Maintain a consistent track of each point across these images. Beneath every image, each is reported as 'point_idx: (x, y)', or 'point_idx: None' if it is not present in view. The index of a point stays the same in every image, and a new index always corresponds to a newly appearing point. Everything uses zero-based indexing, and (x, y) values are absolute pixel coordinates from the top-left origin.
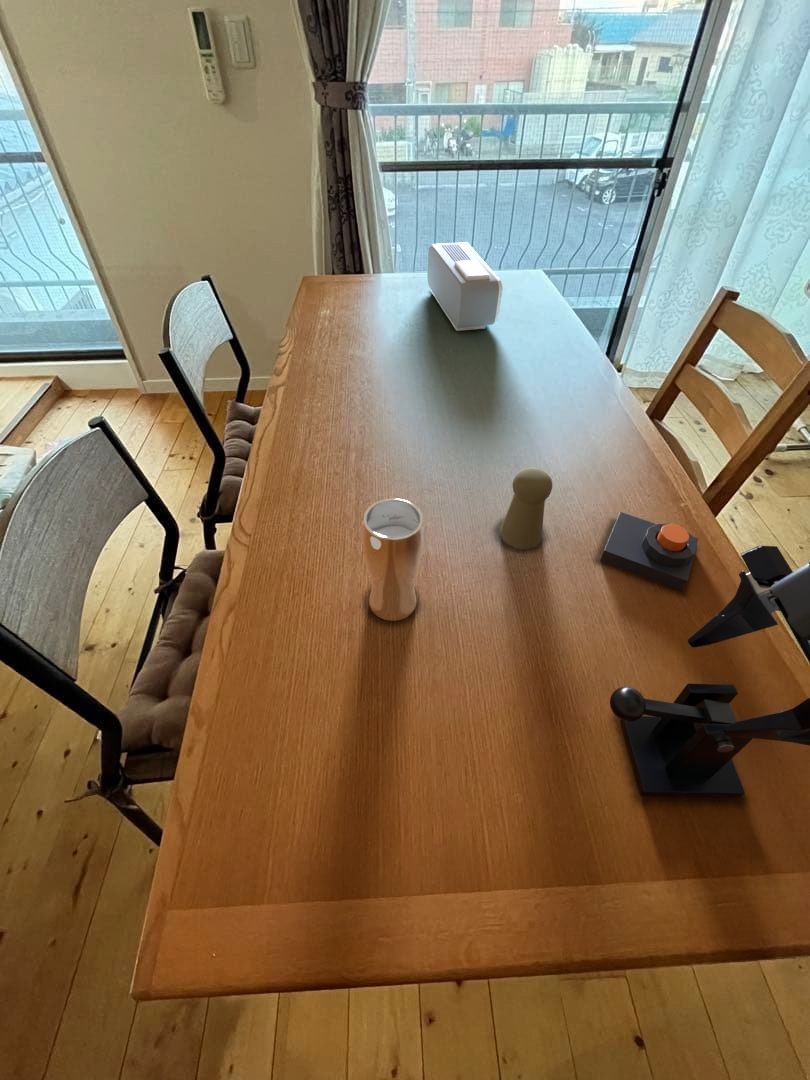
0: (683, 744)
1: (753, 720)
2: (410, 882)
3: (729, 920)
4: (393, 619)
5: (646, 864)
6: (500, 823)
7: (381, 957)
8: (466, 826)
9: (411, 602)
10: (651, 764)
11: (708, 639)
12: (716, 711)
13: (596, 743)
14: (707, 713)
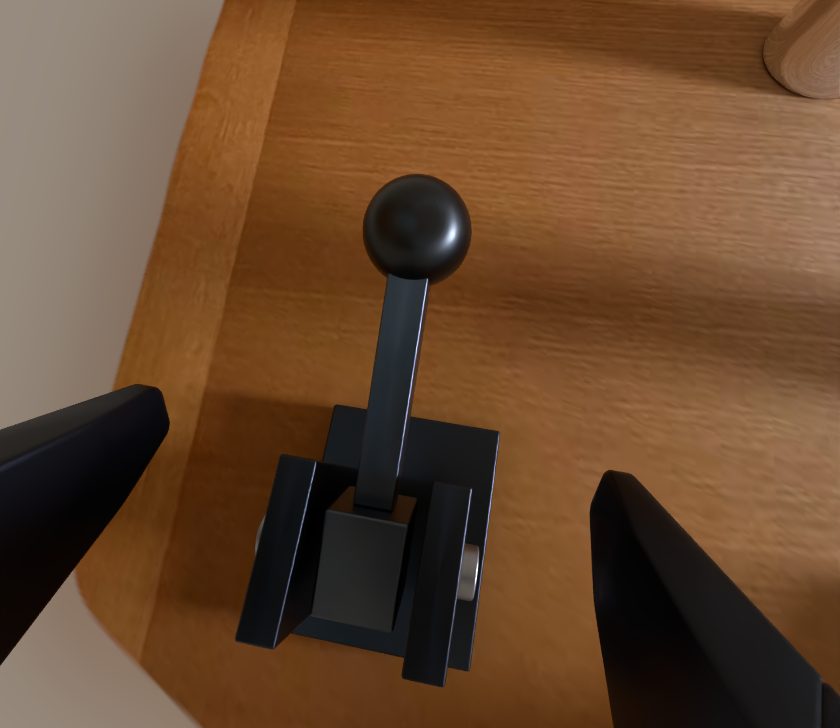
0: (413, 543)
1: (2, 450)
2: (301, 44)
3: None
4: (766, 50)
5: (234, 368)
6: (348, 165)
7: (232, 10)
8: (354, 119)
9: (816, 58)
10: None
11: (614, 573)
12: (358, 547)
13: (454, 365)
14: (359, 510)
